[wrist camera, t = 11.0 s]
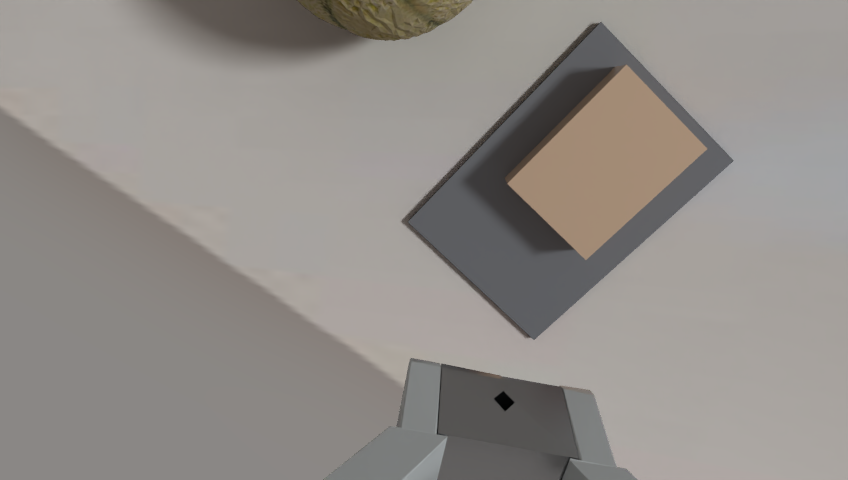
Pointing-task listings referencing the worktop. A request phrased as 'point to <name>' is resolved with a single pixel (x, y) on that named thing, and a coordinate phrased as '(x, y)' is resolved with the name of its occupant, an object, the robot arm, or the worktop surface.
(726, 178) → the worktop surface
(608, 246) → the mat
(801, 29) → the worktop surface
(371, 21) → the cantaloupe
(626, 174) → the block
